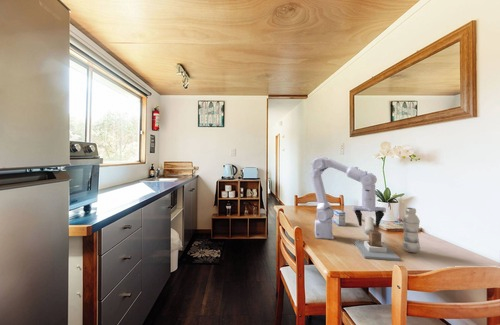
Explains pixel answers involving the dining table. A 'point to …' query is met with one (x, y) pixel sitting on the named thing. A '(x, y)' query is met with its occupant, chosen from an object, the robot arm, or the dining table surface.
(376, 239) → the walnut block
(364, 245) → the dock board
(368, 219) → the tube
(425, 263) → the dining table surface
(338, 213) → the medicine box
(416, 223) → the plastic bottle
